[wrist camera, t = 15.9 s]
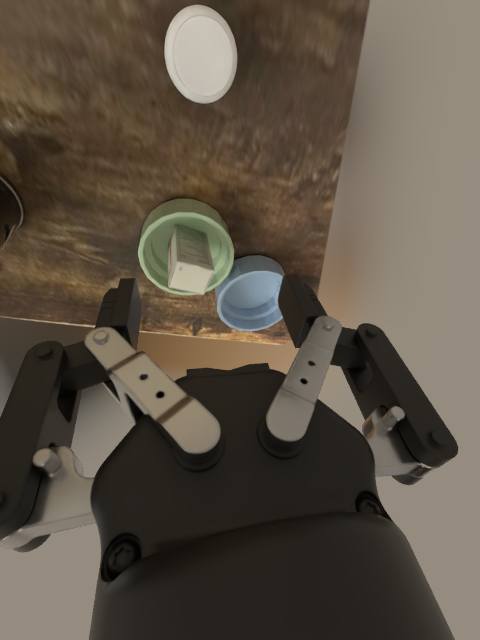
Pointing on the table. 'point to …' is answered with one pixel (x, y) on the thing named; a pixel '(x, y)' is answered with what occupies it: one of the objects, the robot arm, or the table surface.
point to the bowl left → (190, 216)
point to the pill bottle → (200, 54)
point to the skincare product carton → (189, 260)
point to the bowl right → (250, 294)
